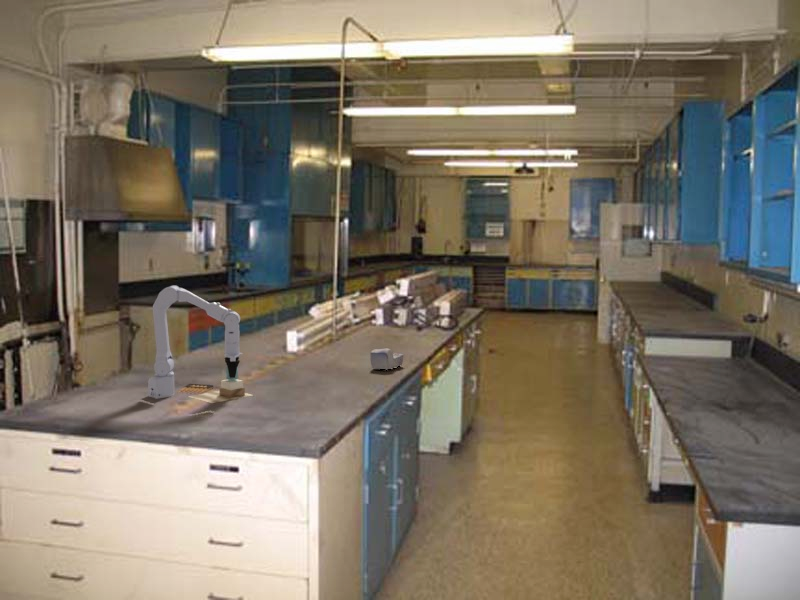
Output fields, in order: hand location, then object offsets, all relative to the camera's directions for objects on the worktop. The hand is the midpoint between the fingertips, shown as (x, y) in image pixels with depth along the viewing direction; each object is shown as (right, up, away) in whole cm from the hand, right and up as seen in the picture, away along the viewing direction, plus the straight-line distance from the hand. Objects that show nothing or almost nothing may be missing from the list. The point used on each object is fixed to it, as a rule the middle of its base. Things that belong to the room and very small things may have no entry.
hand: (232, 376), depth 301 cm
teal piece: (0, -1, 0) cm, 1 cm away
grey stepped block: (+60, -4, +71) cm, 93 cm away
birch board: (-4, -8, 0) cm, 10 cm away
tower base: (0, -8, +1) cm, 8 cm away
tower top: (0, -5, 0) cm, 5 cm away
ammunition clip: (-16, -6, +15) cm, 22 cm away
